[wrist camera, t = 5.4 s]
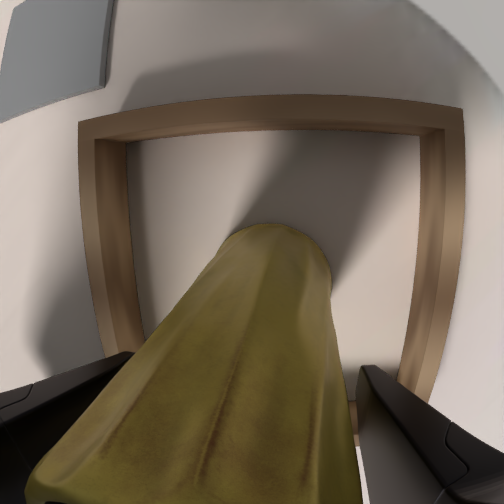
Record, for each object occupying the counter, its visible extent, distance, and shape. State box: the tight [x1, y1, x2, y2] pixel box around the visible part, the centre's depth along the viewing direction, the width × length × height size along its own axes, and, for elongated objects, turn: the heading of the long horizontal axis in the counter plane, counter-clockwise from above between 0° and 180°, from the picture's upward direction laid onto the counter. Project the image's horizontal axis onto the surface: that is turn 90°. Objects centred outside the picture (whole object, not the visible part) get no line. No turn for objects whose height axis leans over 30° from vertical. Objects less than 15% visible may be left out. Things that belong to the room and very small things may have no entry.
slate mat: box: [0, 0, 114, 123], centre depth 14 cm, size 10×10×1 cm
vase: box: [24, 224, 363, 504], centre depth 9 cm, size 6×6×14 cm
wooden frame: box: [78, 94, 465, 446], centre depth 15 cm, size 17×17×3 cm
